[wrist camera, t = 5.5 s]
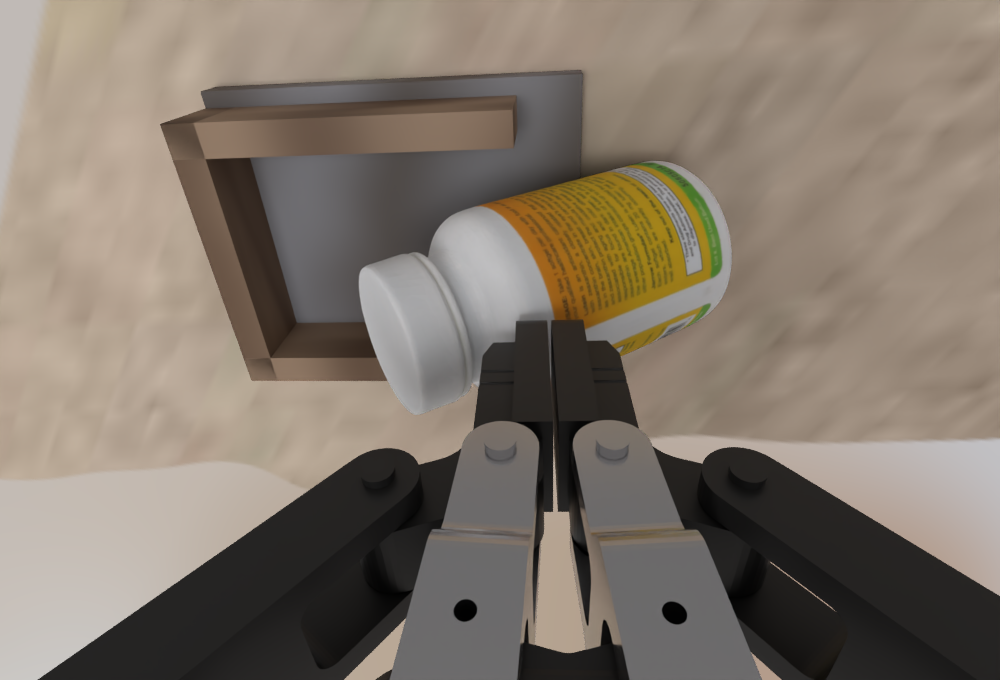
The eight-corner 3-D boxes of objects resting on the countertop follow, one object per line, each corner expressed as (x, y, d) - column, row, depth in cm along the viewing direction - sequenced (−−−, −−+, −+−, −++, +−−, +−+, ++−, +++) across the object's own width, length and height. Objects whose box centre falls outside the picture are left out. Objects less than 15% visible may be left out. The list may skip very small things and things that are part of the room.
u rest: (580, 70, 17) (588, 86, 14) (574, 340, 23) (578, 392, 20) (216, 87, 18) (153, 105, 15) (291, 341, 24) (255, 391, 21)
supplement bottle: (623, 135, 18) (332, 202, 14) (762, 195, 14) (424, 308, 10) (603, 276, 21) (364, 362, 17) (712, 353, 18) (441, 484, 14)
